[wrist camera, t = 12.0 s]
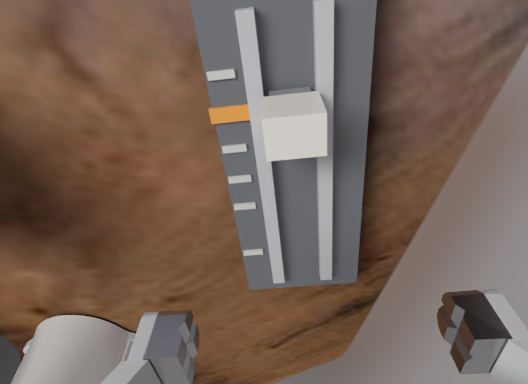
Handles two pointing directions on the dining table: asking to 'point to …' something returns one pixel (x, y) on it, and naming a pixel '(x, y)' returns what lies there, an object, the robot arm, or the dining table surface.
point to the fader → (294, 124)
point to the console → (252, 141)
